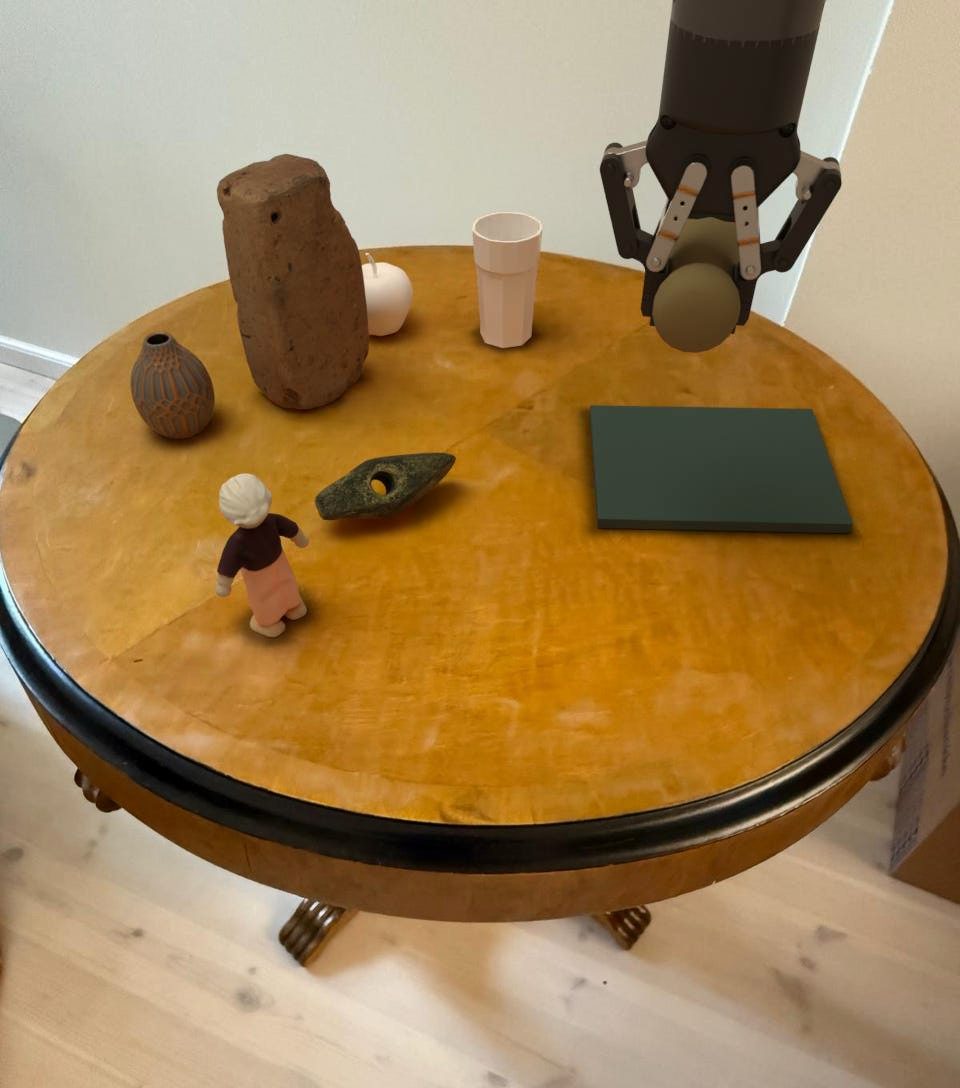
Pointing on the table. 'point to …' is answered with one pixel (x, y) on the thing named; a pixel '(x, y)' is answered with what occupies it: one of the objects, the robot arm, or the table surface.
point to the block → (294, 281)
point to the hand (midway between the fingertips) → (692, 323)
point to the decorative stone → (400, 478)
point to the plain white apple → (386, 297)
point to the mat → (713, 470)
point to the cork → (699, 287)
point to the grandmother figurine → (259, 554)
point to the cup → (506, 275)
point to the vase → (171, 388)
